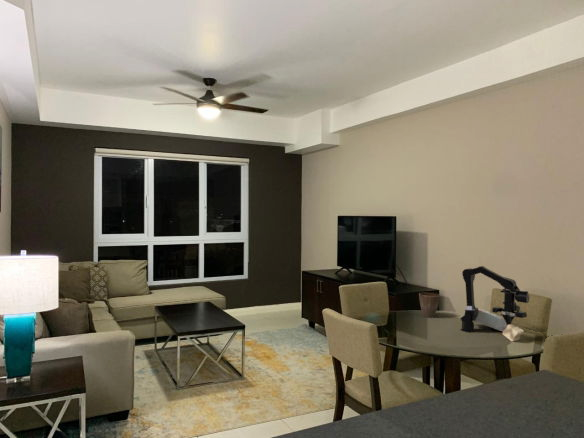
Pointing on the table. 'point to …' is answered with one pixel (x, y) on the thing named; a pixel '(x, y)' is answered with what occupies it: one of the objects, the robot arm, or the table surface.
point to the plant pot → (429, 303)
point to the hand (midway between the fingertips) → (508, 326)
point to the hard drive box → (491, 320)
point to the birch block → (512, 332)
